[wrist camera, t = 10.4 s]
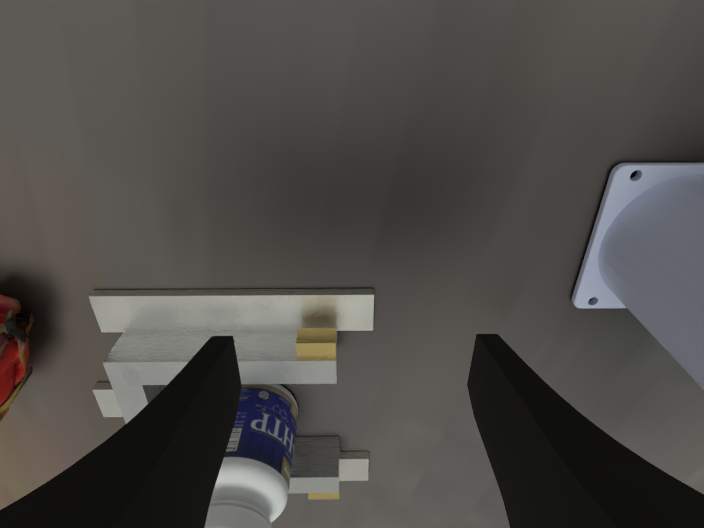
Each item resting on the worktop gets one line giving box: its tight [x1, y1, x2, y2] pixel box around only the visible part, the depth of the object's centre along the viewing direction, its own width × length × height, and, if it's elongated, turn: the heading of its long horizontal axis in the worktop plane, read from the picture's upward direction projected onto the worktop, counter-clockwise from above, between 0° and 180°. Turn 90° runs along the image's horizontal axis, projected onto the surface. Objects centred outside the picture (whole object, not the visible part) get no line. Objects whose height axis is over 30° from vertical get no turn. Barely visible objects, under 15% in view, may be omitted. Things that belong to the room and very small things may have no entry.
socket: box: [88, 289, 374, 499], centre depth 26 cm, size 17×16×3 cm
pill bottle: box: [205, 384, 298, 528], centre depth 24 cm, size 5×5×9 cm
